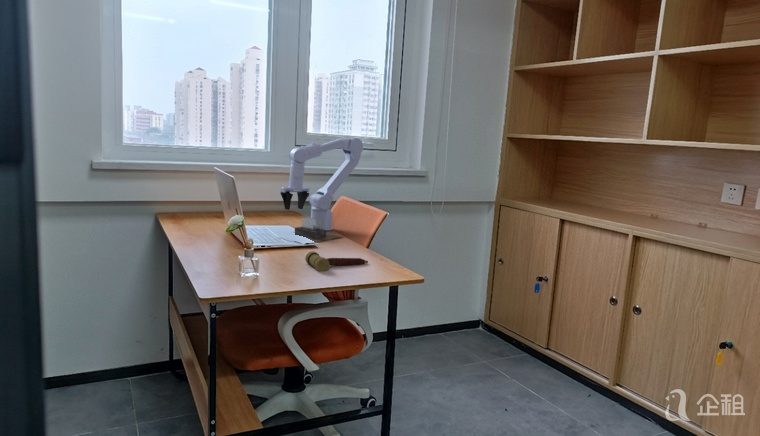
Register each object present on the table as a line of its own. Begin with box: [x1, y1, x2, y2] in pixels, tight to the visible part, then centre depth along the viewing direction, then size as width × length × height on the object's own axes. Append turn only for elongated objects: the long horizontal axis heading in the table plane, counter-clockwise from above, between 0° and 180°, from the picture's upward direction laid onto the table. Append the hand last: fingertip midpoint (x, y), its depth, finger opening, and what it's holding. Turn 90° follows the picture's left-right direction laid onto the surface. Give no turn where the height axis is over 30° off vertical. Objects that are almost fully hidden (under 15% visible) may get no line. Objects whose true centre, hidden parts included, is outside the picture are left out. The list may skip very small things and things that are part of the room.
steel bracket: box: [301, 216, 321, 231], centre depth 219 cm, size 3×8×7 cm, turn 55°
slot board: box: [294, 226, 344, 243], centre depth 220 cm, size 22×16×4 cm
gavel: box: [304, 251, 369, 272], centre depth 181 cm, size 21×5×10 cm
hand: (293, 209), depth 229 cm, fingers open, 7 cm apart
